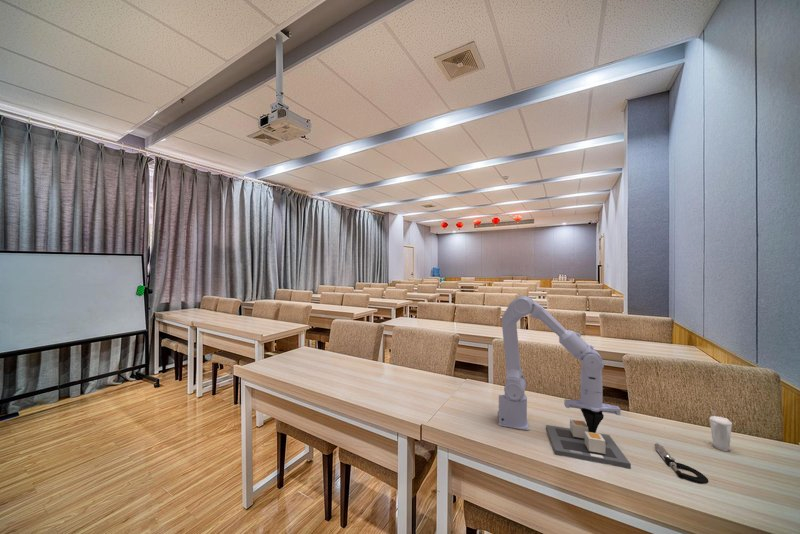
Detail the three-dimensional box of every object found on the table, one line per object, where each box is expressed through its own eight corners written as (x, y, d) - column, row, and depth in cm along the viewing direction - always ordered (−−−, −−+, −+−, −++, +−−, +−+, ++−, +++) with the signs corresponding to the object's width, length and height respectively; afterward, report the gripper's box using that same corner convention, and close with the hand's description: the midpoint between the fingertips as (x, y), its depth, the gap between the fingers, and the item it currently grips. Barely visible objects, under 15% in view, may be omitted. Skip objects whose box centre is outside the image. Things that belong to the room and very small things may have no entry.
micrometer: (715, 489, 70) (715, 478, 70) (677, 480, 72) (677, 470, 73) (683, 454, 83) (683, 445, 83) (652, 448, 86) (652, 439, 86)
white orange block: (573, 436, 88) (573, 424, 88) (570, 430, 92) (569, 418, 92) (588, 439, 87) (588, 426, 87) (584, 432, 91) (584, 420, 91)
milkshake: (723, 444, 88) (722, 411, 89) (737, 454, 83) (736, 419, 84) (704, 441, 90) (703, 408, 90) (716, 450, 85) (715, 416, 85)
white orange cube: (588, 451, 81) (588, 437, 81) (584, 443, 85) (584, 430, 85) (605, 454, 80) (605, 440, 80) (600, 446, 83) (600, 433, 84)
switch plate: (555, 454, 82) (555, 449, 82) (545, 428, 96) (545, 424, 96) (630, 468, 76) (630, 463, 76) (609, 438, 90) (609, 434, 90)
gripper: (568, 390, 87) (568, 436, 87) (624, 397, 83) (625, 445, 82) (562, 382, 94) (562, 425, 94) (614, 389, 90) (615, 433, 89)
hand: (591, 434), depth 88 cm, fingers closed
